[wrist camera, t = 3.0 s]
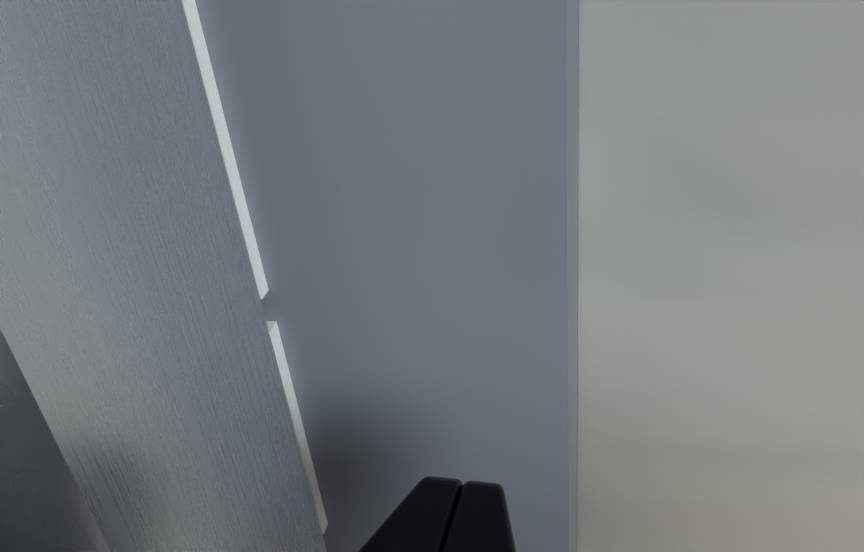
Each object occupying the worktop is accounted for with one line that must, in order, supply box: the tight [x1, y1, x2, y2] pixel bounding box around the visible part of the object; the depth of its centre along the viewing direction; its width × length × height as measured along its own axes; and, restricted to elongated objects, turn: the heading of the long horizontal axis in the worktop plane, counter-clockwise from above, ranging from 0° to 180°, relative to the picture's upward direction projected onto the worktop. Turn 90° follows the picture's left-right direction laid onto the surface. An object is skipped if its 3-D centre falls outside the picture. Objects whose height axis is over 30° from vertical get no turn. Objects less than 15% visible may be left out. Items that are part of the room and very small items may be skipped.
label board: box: [182, 0, 579, 552], centre depth 11 cm, size 16×12×2 cm
